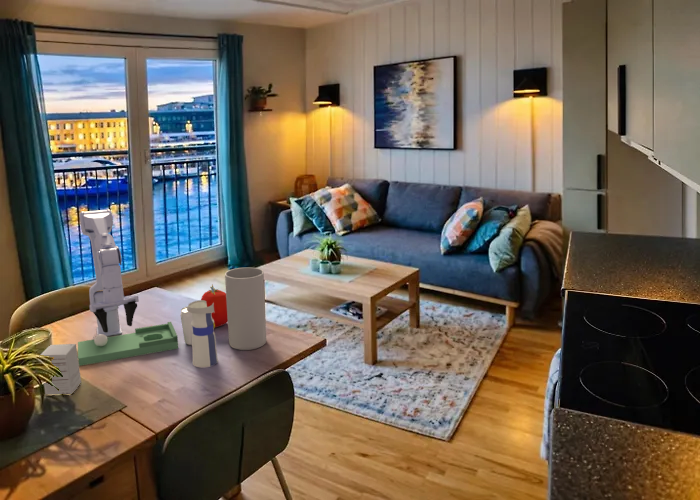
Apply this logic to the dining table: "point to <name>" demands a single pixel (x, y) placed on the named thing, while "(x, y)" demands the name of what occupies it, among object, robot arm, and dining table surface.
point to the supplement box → (64, 369)
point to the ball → (100, 340)
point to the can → (187, 325)
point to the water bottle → (203, 333)
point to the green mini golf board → (129, 344)
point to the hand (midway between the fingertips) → (117, 328)
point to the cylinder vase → (245, 308)
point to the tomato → (217, 306)
